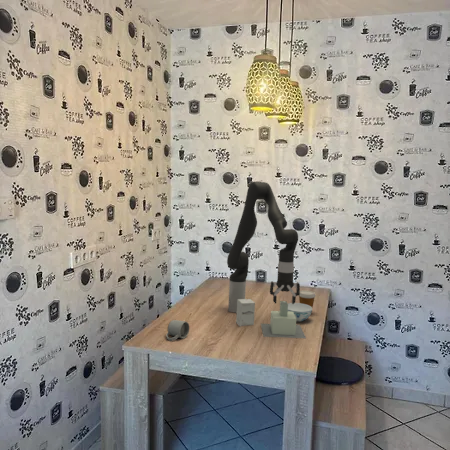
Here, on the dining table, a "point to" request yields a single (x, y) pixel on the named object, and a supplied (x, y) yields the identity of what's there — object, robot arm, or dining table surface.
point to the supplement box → (245, 312)
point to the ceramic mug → (177, 329)
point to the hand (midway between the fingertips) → (284, 303)
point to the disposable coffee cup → (307, 298)
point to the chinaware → (300, 311)
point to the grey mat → (268, 333)
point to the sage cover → (283, 321)
